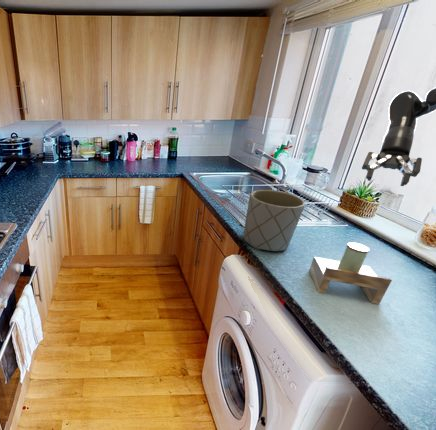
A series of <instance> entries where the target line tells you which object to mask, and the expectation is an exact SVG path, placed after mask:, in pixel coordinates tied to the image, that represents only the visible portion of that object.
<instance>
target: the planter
mask: <svg viewBox="0 0 436 430" xmlns="http://www.w3.org/2000/svg"><path fill="white" fill-rule="evenodd" d="M305 206H306V201H305V200H304V199H303V198H301V197H299V196H297V195H295V194H293V193H289V192H285V191H280V190H273V189H257V190H252V191H251V192H250V193H249V198H248V203H247V210H246V216H245V222H244V228H243V235H242V237H243V240H244V241H245V242H246V243H247V244H248V245H249V246H251V248H254V249H255V250H256V251H257V250H264V251H272V252H280V251H287V249H288V248H289V246H290V243H291V240H292V239H293V236H294V233H295V231H296V228H297V226H298V224H299V221H300V219H301V216H302V214H303V211H304V210H305V209H304V208H305Z"/></svg>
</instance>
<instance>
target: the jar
mask: <svg viewBox="0 0 436 430" xmlns="http://www.w3.org/2000/svg"><path fill="white" fill-rule="evenodd" d="M370 250H371V249H370V248H369V247H368V246H366V245H364V244H363V243H358V242H352V241H351V242H347V243H346V247H345V249H344V252H343V254H342V257H341V259H340V260H339V261H340V264H339V266H338V269H342V270H348V271H353V272H359V271H360V269H361V267H362V265H364V263H365V260H366V258H367V255H368V253H369V252H370Z"/></svg>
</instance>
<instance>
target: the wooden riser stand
mask: <svg viewBox="0 0 436 430" xmlns="http://www.w3.org/2000/svg"><path fill="white" fill-rule="evenodd" d="M312 258H313V259H312V261H311V264H310V267H309V269H308V272H309V274H310V277H311V279H312V281H313V284H314V286H315V287H316V290H317V292H319V293H323V294H326V292H327V290H328V287H329V285H330V284H331V281H333V282H337V283H343V284H347V285H353V286H358V287H360V288H361V290H362V291H363V293H364V294H365V295H366V297H367V298H368V300H369V301H370V303H371V304H376V305H380V304H381V302H382V300H383V298H384V296H385V295H386V293H387V290H388V289H389V286H390V285H391V283H392V281H393V279H391V278H390V277H386V276H380V275H377V273H376V272H375V271H374V269H373V268H372V267H371V265H364V264H362V267H361V269H360V271H359V272H353V271H348V270H342V269H338V266H339V264H340V261H341V260H335V259H330V258H324V257H319V256H313V257H312Z"/></svg>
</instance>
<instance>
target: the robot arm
mask: <svg viewBox="0 0 436 430" xmlns="http://www.w3.org/2000/svg"><path fill="white" fill-rule="evenodd" d="M435 111H436V87H434V88H432V89H430V90H429V91H428V92H427V93H426V95H425V100H424V99H422V98H421V97H420V96H419V95H418V94H417V93H416V92H414V91H411V90H406V91H402V92H400V93H398V94H396V95H395V96H394V97H393V98H392V99H391V101H390V103H389V106H388V120H389V122H388V123H389V124H388V126H387V129H386V132H385V134H384V136H383V139H382V143H381V145H380V146H381V147H380V150H379V152H378V153H376V154H375V153H373V152H372V151H368V152H367V155H366V157H365V159H364V161H363V164H362V166H361V169H362V170H366V171H367V173H366V175H365V179H366V180H367V181H369V182H371V181H372V178H373V175H374V172H375V170H378V169H381V168H383V169H390V170H397V171H398V173H401V174H402V178H401V183H400V187H404V186H407V185H408V183H409V182H410V179H411V177H413V178H416V177H417V176H418V175H419V174H420V172H421V167H422V163H423V162H422V160H423V158H422V157H417V158H411V157H410V153H411V150H412V147H413V143H414V140H415V131H416V127H417V123H418V121H417V120H418V118H421V117H423V116H426V115H428V114H431V113H433V112H435ZM374 159H375V160H376V162H374V163H373V164H370V161H371V162H372V161H374ZM409 163H410V165H411V167H412V170H411V169H410V167H409V165H408V164H409Z"/></svg>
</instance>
